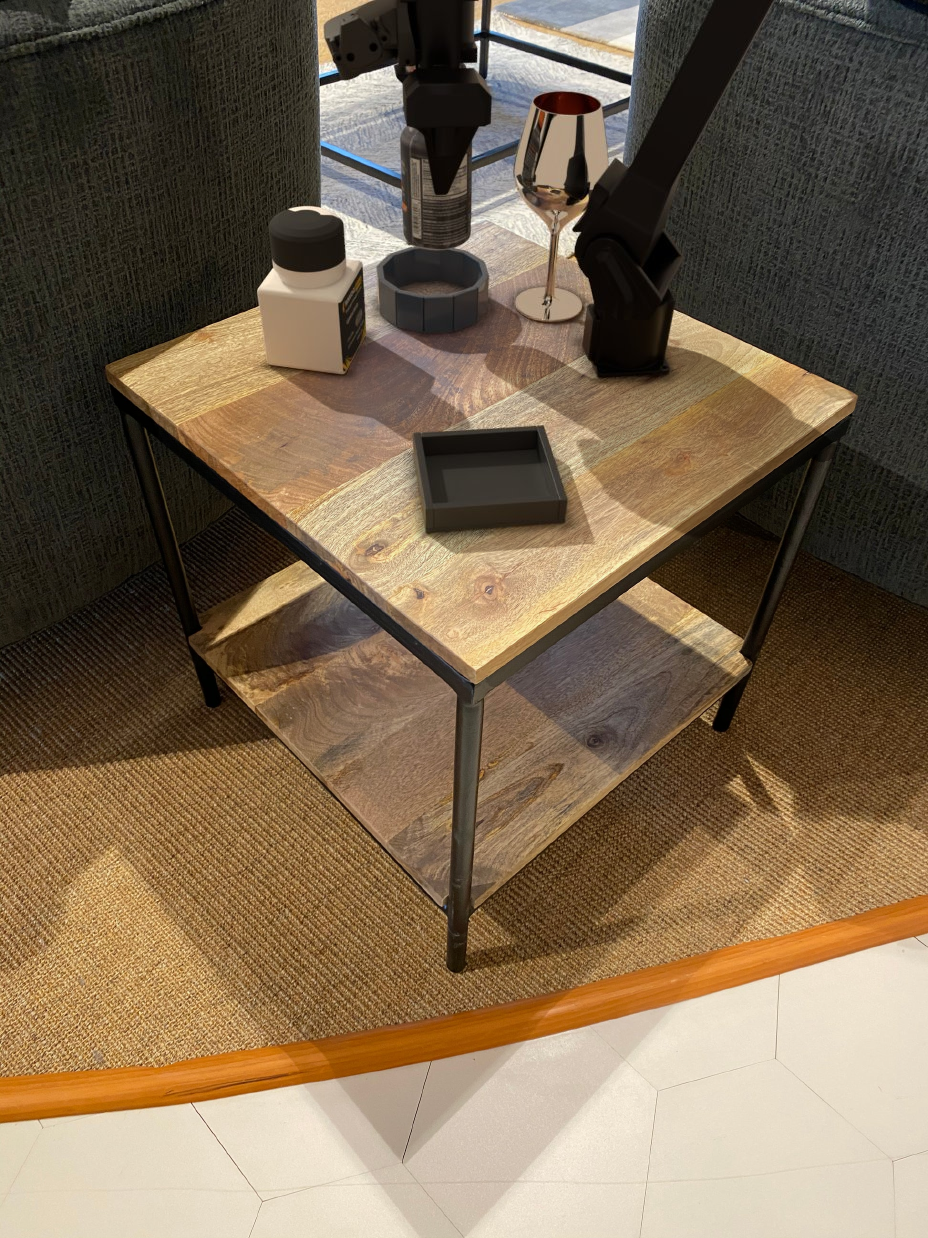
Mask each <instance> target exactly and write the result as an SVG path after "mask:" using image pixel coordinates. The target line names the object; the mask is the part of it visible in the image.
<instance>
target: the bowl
mask: <svg viewBox="0 0 928 1238" xmlns="http://www.w3.org/2000/svg"><path fill="white" fill-rule="evenodd" d="M375 269H376V292H377V294H376V295H377V305H378V313H379V315H380V317H382V318H383V319H385V320H386V321H387V322H389V324H391V325H393V326H394V327H396V328H399V329H403V330H407V331H412V332H416V333H420V334H442V333H443V334H444V333H455V332H457V331H460V330H462V329H466V328H468V327H471V326H474V325H476V324H477V323H479V321H480V320H481V319H482V318H483V316H484V315H485V314H486V313H487V312H488V307H489V285H490V284H489V283H490V274H489V271H488V268H487V264H486V262H485V260H483V259H481V258H480V257H478V256H477V255H475V254H473V253H472V252H470V251H469V250H466V249H460V248H458V247H455V248H452V249H447V250H428V249H422V248H419V247H416V246H414V245H412V246H410V247H406V248H403V249H400V250H396V251H394V252H391V253H389V254H388V253H387V255H386V256H385V257H384V258H383V259H382V260H381V261H380V262H379V263H378V264H376V268H375ZM423 283H425V284H426V283H427V284H428V283H442V284H443V283H444V284H447V285H451V286H456V287H460V288H463V289H462V290H459V291H456V292H452V293H441V294H439V293H438V294H423V293H422V294H421V293H417V292H413V291H408V290H404V289H402V288H404V287H408V286H410V285H413V284H423Z"/></svg>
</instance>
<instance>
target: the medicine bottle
mask: <svg viewBox="0 0 928 1238" xmlns="http://www.w3.org/2000/svg"><path fill="white" fill-rule="evenodd" d="M267 228H268V237H269V244H270V251H271V260H272V261H271V262H272V267H273V268H272V269H271V270H270V271H269V273H268V274H267V276H266V277H265V278H264V280H263V281H262V282H261V284H259V285H260V286H259V287H258V288H257V291H256V293H257V301H258V308H259V315H260V323H261V328H262V329H261V330H262V336H263V346H264V351H265V358H266V363H267V364H268V365H270V366H275V367H276V366H277V367H285V368H292V369H299V370H306V371H314V372H320V373H321V372H322V373H328V374H336V375H344V374H346V373H347V371H348V370H349V367H350V366H351V364H352V362H353V360H354V358H355V356H356V354H357V352H358V350H359V349H360V347H361V345H362V343H363V342H364V339H365V337H366V335H367V319H366V302H365V299H366V298H365V284H364V281H365V280H364V264H363V262H362V261H361V260H358V259H351V258H350V259H349V258H347V253H346V237H345V223H344V221H343V219H342V218H341V217H340V215H338V214H337V213H335V212H334V211H332V210H329V209H326V208H324V207H318V206H311V205H303V206H302V205H301V206H296V207H290V208H288V209H285V210H283V211H280V212H279V213H277V214H275V215H274V216H273V217H272V218H271V220H270V221H269V223H268V227H267Z"/></svg>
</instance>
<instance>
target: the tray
mask: <svg viewBox="0 0 928 1238" xmlns="http://www.w3.org/2000/svg"><path fill="white" fill-rule="evenodd" d="M545 428H546V427H545V426H544V425H542V424H541V425H528V426H527V425H524V426H523V425H522V426H509V427H508V426H507V427H493V428H491V427H490V428H475V429H459V430H457V429H456V430H443V431H439V430H438V431H423V432H413V433H412V455H413V456H412V457H413V462H414V469H415V475H416V481H417V488H418V494H419V501H420V506H421V513H422V519H423V524H424V525H423V526H424V530H425V531H424V532H425V533H426V534H431V533H442V532H444V533H445V532H457V531H458V532H459V531H473V530H485V529H497V528H498V529H500V528H512V527H513V528H514V527H530V526H542V525H556V524H565V523H566V517H567V510H568V501H569V499H568V495H567V493H566V490H565V487H564V484H563V480H562V478H561V475H560V471H559V468H558V464H557V462H556V459H555V456H554V452H553V450H552V447H551V443H550V441H549V438H548V435H547V431H546V429H545Z"/></svg>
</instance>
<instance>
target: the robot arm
mask: <svg viewBox="0 0 928 1238" xmlns="http://www.w3.org/2000/svg"><path fill="white" fill-rule="evenodd" d="M479 1H480V0H370V1H367V2H366V3H363V4H361V5H358V6H356V7H354V8H352V9H349V10H347V11H345V12H342V13H341V14H338V15H336V16H333V17H332V18H330V19H329V20H327V21H326V22H325V23H324V24H323V38H324V40H325V43H326V46H327V48H328V50H329V53H330V55H331V59H332V62H333V64H334V65H335V67H336V70H337V72H338V75H339V78H340V80H341V81H345V82H346V81H350V80H353V79H356V78H358V77H359V76H360V75H361V73H362V72H365V71H367V70H369V69H372V68H374V67H377V66H379V65H381V64H383V63H385V62H388V61H390V60H393V61H394V60H397V63H396V64H394V65H393V69H394V74H395V78H396V80H398V81H399V82H400V84H401V85H402V105H403V106H402V112H403V115H404V120H405V125H406V126H409V127H412V128H416V129H417V130H418V131H419V132H420V133H422V135H423V136H424V141H425V147H426V152H427V157H428V163H429V168H430V173H431V179H432V184H433V189H434V193H435V195H447V194H448V193H449V190H450V188H451V186H452V184H453V181H454V179H455V177H456V175H457V172H458V170H459V168H460V166H461V163H462V161H463V159H464V157H465V155H466V152H467V150H468V148H469V146H470V144H471V142H472V143H473V140H474V139H475V136H476V133H477V132H478V129H479V128H482V127H483V128H484V127H486V126H488V125H491V124H492V108H493V107H492V105H493V104H492V103H493V102H492V101H493V96H492V93H491V91H490V89H489V85H488V84H487V83H488V82H487V81H486V80H485V78H484V77H483V76H482V75H481V74H480V73H479V71H477V70H476V69H475V68H474V67H467V64H478V52H479V51H478V50H479V49H478V48H479V47H478V45H477V43H476V41H475V7H476V6H475V4H476V3H475V2H479ZM775 1H776V0H713V1H712V2H711V5H710V7H709V9H708V11H707V13H706V14H705V17H704V18H703V20H702V23H701V25H700V27H699V29H698V30H697V33H696V35H695V36H694V39H693V41H692V43H691V45H690V47H689V49H688V50H687V53H686V55H685V57H684V59H683V60H682V62H681V64H680V66H679V68H678V71H677V73H676V74H675V76H674V79H673V80H672V82H671V85H670V86H669V88H668V90H667V92H666V95H665V96H664V98H663V100H662V102H661V104H660V107H659V108H658V110H657V112H656V114H655V116H654V118H653V121H652V122H651V124H650V126H649V128H648V130H647V132H646V134H645V136H644V138H643V140H642V142H641V144H640V146H639V148H638V150H637V152H636V154H635V156H634V158H633V160H632V162H631V163H630V164H629V165H628V166H627V165H625V163H623V162H622V161H621V160H620V159H618V158H617V157H614V158H613V160H612V161H611V162H610V163H609V166H608V168H607V169H606V170H605V172H604V173H603V174H602V176H601V177H600V178H599V180H598V181H597V182H596V184H595V185H594V187H593V190H592V193H591V196H590V199H589V203H588V206H587V209H586V211H585V212H584V213H582V214H581V215H580V216H579V219H578V220H577V221H576V222H575V224H574V226H573V227H572V229H571V231H572V232H573V233H579V235H578V236H577V238H576V241H575V244H574V250H573V256H574V258H575V259H576V262H577V265H578V268H579V270H580V271H581V272H582V274H583V275H584V276H585V278H587V279H588V284H589V288H590V292H591V296H592V300H593V303H589V304H588V305H587V306H586V310H585V311H586V312H585V320H584V327H583V335H582V345H581V346H582V348H583V351H584V353H585V357H586V359H587V361H589V362H590V363H591V365H592V368H593V370H594V372H595V375H596V377H598V378H600V379H613V378H615V379H616V378H632V377H646V376H647V377H651V376H652V377H653V376H667V375H669V374H670V372H671V366H670V364H669V362H668V360H667V358H666V354H667V349H668V345H669V344H668V343H669V339H670V334H671V327H672V322H673V318H674V313H675V308H676V301H677V298H676V297H675V296H674V293H673V292H672V291H671V289H670V286H671V284H672V282H673V281H674V278H675V276H676V274H677V273H678V271H679V269H680V268H681V265H682V264H683V262H684V259H685V257H684V256H685V255H684V254H683V253H682V251H681V249H680V248H679V247H678V246H677V244H676V242H675V241H674V240H673V238H672V237H671V236H670V234H669V233H668V231H667V230H666V229H665V226H666V223H667V220H668V218H669V214H670V211H671V208H672V205H673V203H674V199H675V195H676V192H677V189H678V185H679V181H680V178H681V174H682V171H683V169H684V167H685V165H686V163H688V160H689V158H690V157H691V155H692V153H693V151H694V149H695V148H696V145H697V144H698V142H699V141H700V138H701V137H702V134H703V133H704V131H705V129H706V127H707V126H708V123H709V122H710V120H711V118H712V116H713V114H714V112H715V111H716V109H717V107H718V106H719V103H721V100H722V98H723V97H724V94H726V93H725V92H726V91H727V89H728V88H729V85H730V83H731V81H732V80H733V78H734V76H735V74H736V72H737V71H738V69H739V67H740V65H741V64H742V62H743V60H744V58H745V56H746V54H747V52H748V51H749V48H750V47H751V45H752V43H753V41H754V40H755V38H756V36H757V35H758V32H759V31H760V29H761V27H762V25H763V23H764V21H765V19H766V18H767V17H768V14H769V12H770V10H771V9H772V7H773V5H774V3H775Z"/></svg>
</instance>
